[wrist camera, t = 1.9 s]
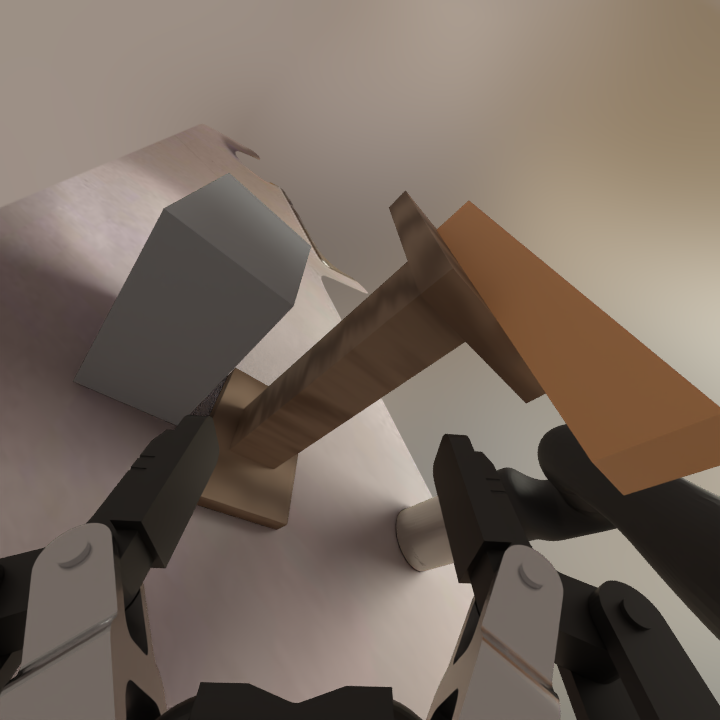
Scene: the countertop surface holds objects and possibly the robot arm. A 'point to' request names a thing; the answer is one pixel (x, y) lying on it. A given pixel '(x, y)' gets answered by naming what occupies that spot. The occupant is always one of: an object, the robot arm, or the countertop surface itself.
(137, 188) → the countertop surface
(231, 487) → the stand
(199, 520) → the countertop surface
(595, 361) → the orange bar
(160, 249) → the grey riser
